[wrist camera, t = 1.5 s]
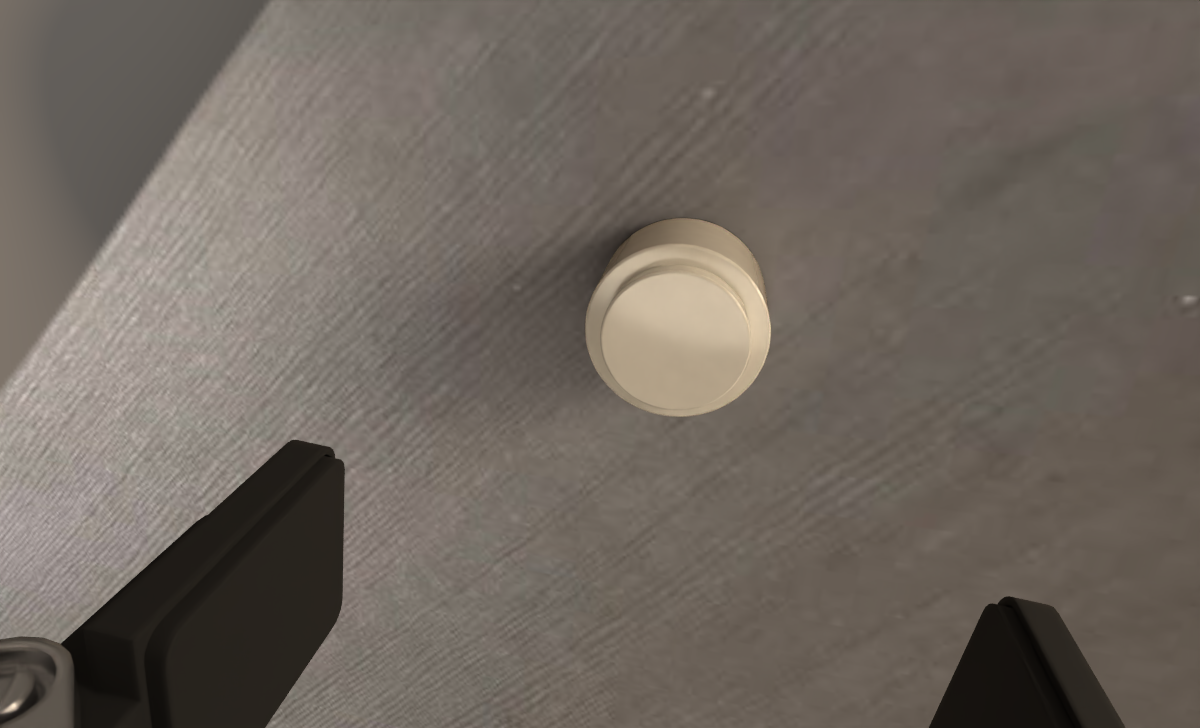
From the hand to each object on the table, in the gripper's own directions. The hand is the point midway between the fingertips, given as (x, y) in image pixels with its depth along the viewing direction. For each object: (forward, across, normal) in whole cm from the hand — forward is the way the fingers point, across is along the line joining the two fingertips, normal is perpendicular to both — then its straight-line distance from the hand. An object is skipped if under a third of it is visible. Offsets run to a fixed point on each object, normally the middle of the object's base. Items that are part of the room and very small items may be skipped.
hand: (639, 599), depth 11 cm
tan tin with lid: (+13, 0, 0) cm, 13 cm away
